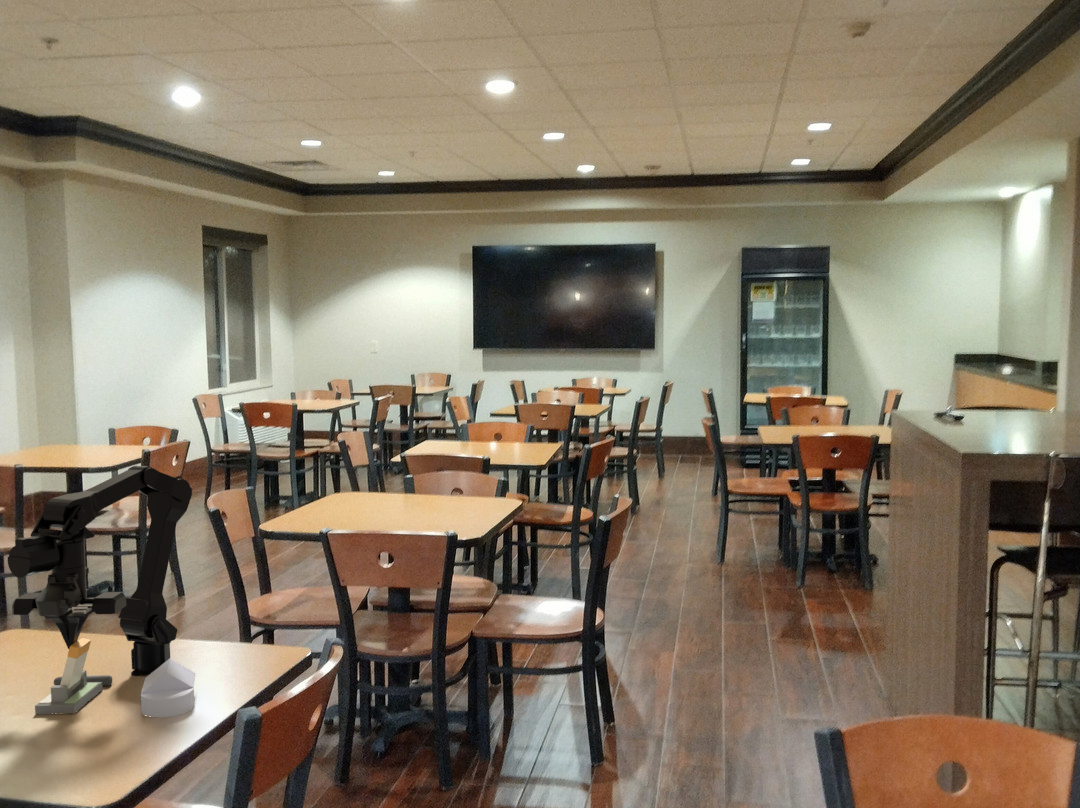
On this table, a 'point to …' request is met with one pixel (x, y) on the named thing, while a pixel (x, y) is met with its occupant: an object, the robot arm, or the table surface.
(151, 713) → the wedge on round base
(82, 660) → the lever
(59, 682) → the grey double capsule
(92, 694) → the panel
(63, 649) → the table surface
